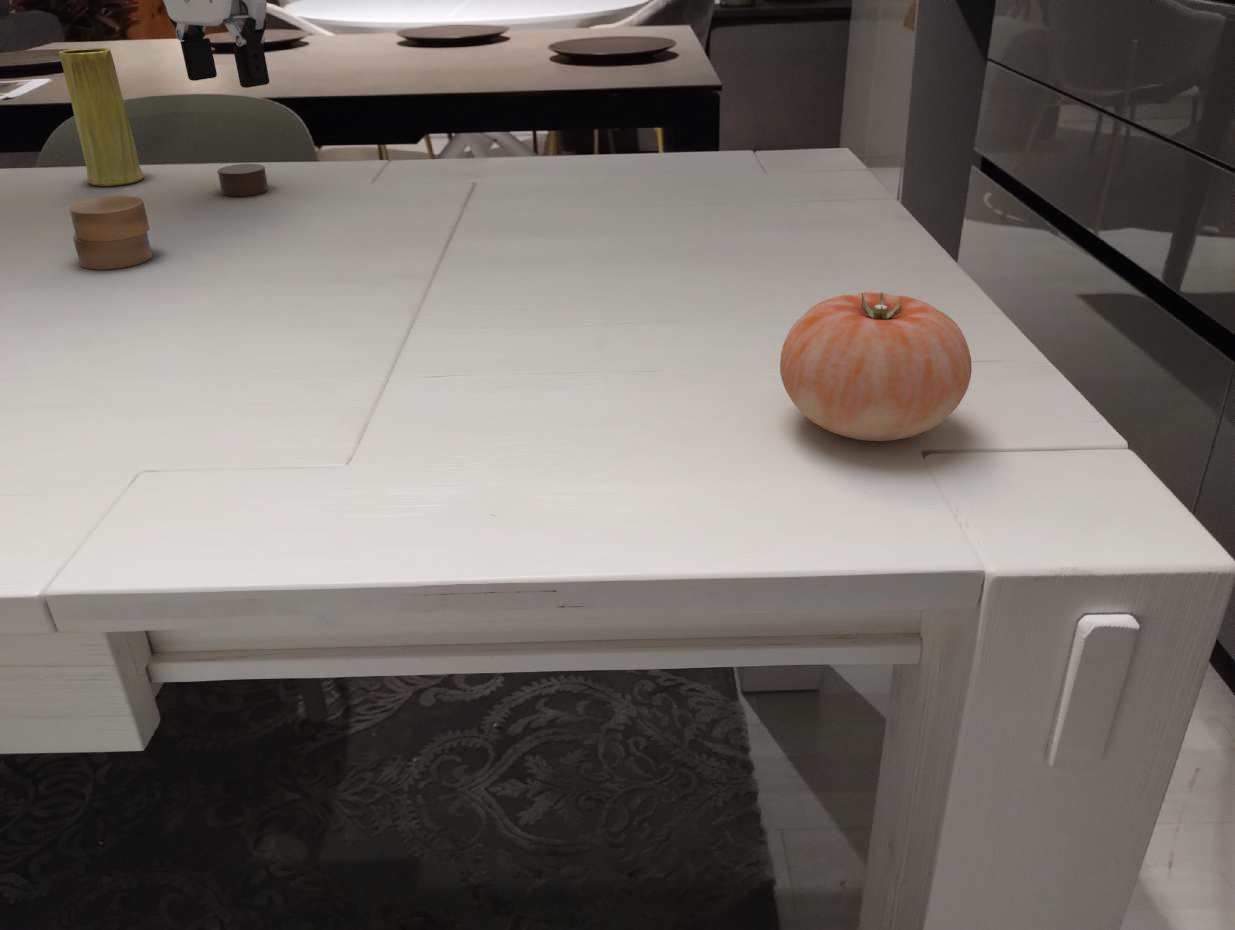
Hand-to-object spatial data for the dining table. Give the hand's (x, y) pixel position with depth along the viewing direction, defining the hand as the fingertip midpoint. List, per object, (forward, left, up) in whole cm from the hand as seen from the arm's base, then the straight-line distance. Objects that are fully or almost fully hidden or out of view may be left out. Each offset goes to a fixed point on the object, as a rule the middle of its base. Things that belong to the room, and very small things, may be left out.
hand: (228, 82), depth 108 cm
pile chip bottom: (+13, -22, -12) cm, 28 cm away
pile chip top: (+13, -22, -9) cm, 27 cm away
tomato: (+82, -12, -12) cm, 84 cm away
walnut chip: (0, 0, -12) cm, 12 cm away
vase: (-17, -6, -12) cm, 22 cm away
